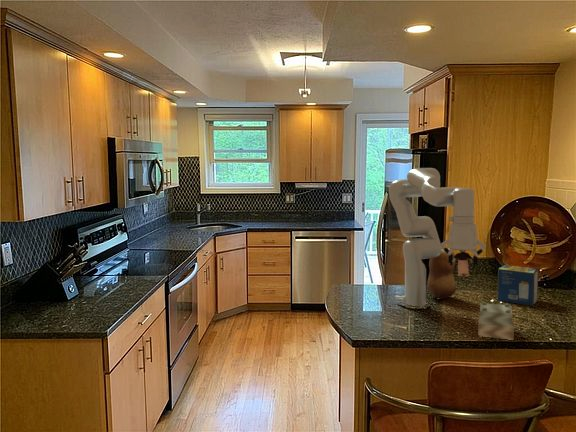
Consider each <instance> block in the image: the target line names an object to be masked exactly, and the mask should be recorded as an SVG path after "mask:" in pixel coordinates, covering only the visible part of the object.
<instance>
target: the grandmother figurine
mask: <svg viewBox="0 0 576 432" xmlns="http://www.w3.org/2000/svg"><path fill="white" fill-rule="evenodd" d="M458 251H459V252H457V253H455V256H454V258H453V260H452V262H455V263H456V261H457V273H458V274H457V276H459V277H470V276H471V274H470V273H469V272H470V269H469V262H468V261H470V263H471V264H473V258H472V257H473V256H471V254H469V253H468V252H467V250H458ZM463 274H464V275H463Z"/></svg>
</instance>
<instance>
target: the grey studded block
mask: <svg viewBox="0 0 576 432" xmlns="http://www.w3.org/2000/svg"><path fill="white" fill-rule="evenodd" d="M513 314H514V313H513V309H512V305H511V304H509V303H504V304H496V303H487V302H486V301H482V302H480V303H479V314H478V317H477V318H478V323H477V324H478V325H477V326H478V327H477V330H478V331H477V333H478V335H481V336H487V337H494V338H501V339H508V340H514V341H515V339H514V338H515V326H514V321H513V320H514V318H513V316H514V315H513ZM478 335H477V336H478ZM508 340H507V341H508Z"/></svg>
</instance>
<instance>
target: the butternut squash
mask: <svg viewBox="0 0 576 432" xmlns="http://www.w3.org/2000/svg"><path fill="white" fill-rule="evenodd" d="M447 248H448V249H449V250H450V248H449V247H447ZM452 255H453V258H454V256H455V255H456V253H455V250H454V251H453V252H452ZM428 261H429V262H428V268H429V273H428V278H427V280H426V287H427V289H428V291H429V292H430V294H432V296H435V297H436V298H440V299H439V300H442V299H443V298H445V299H447V298H449V297H452V296H453V295H454V294H455V292H456V291H457V283H456V280H455V277H454V270H455V265H456V261H455V262H453V264H452V266H451V265H450V263H449V262H448V261H449V255H448V254H447V253H446V252H445V251H444V249H443V248H442V247H441V253H440V255H439V256H438V257H435V258H429V260H428ZM435 297H434V298H435Z"/></svg>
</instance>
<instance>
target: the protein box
mask: <svg viewBox="0 0 576 432" xmlns="http://www.w3.org/2000/svg"><path fill="white" fill-rule="evenodd" d="M538 289H539V268H538V267H537V268H536V267H525V266H516V265H508V264H504V265H502V266H501V267H500V266H499V268H498V273H497V301H500V302H505V303H512V304H518V305H524V306H531V307H533V306H534V305H535V304H536V303H537V302H538V294H539V293H538V292H539V291H538Z"/></svg>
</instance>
